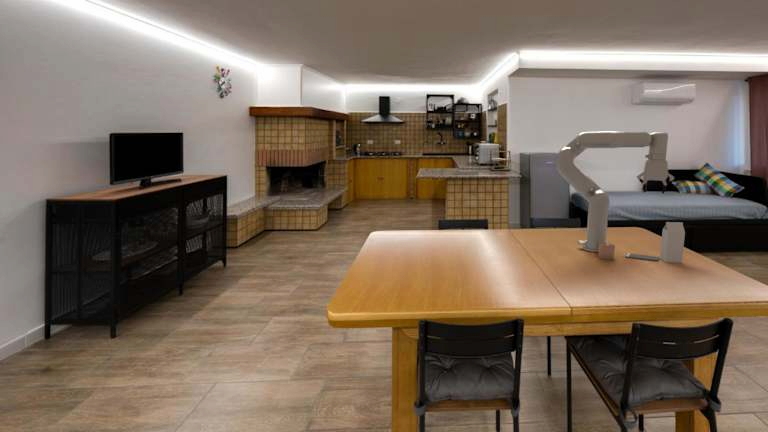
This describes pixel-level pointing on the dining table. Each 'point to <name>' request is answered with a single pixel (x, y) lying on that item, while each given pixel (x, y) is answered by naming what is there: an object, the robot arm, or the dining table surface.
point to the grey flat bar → (642, 257)
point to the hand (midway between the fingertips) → (653, 192)
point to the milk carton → (672, 242)
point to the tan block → (606, 251)
